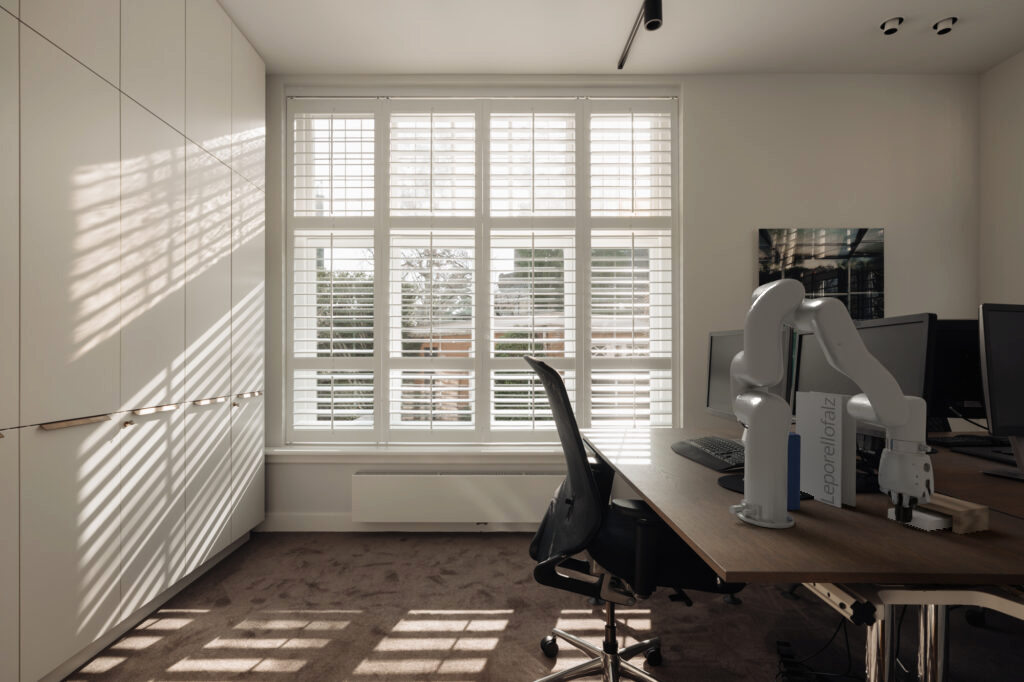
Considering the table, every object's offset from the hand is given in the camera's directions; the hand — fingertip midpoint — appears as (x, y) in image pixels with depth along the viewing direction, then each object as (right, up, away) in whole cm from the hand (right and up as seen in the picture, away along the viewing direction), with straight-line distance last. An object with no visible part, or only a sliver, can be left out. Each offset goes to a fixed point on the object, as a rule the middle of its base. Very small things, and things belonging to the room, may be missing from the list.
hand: (903, 521), depth 119 cm
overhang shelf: (+10, -1, +4) cm, 11 cm away
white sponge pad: (+8, -1, +3) cm, 9 cm away
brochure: (-7, -1, +20) cm, 21 cm away
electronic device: (-22, -1, +15) cm, 26 cm away
